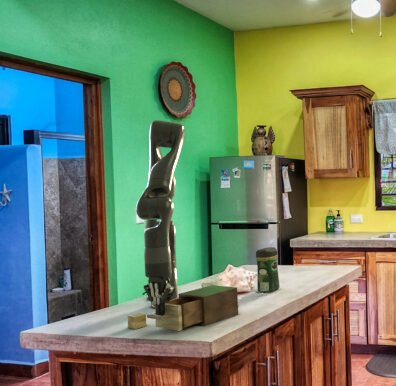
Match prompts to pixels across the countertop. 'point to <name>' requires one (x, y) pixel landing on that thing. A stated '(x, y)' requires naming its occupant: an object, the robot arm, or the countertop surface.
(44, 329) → the countertop surface
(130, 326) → the block
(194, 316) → the drawer
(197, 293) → the cabinet
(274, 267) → the coffee jar
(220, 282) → the white cup
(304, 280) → the countertop surface
